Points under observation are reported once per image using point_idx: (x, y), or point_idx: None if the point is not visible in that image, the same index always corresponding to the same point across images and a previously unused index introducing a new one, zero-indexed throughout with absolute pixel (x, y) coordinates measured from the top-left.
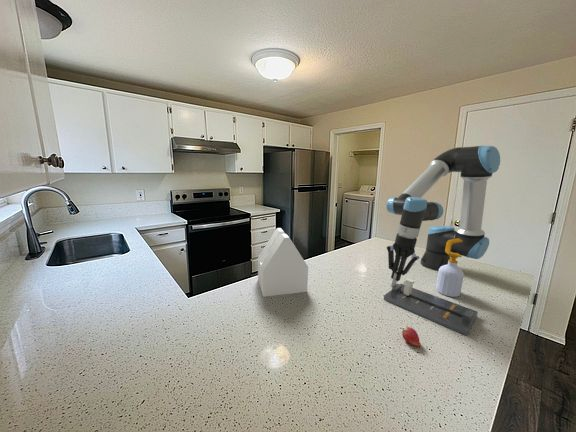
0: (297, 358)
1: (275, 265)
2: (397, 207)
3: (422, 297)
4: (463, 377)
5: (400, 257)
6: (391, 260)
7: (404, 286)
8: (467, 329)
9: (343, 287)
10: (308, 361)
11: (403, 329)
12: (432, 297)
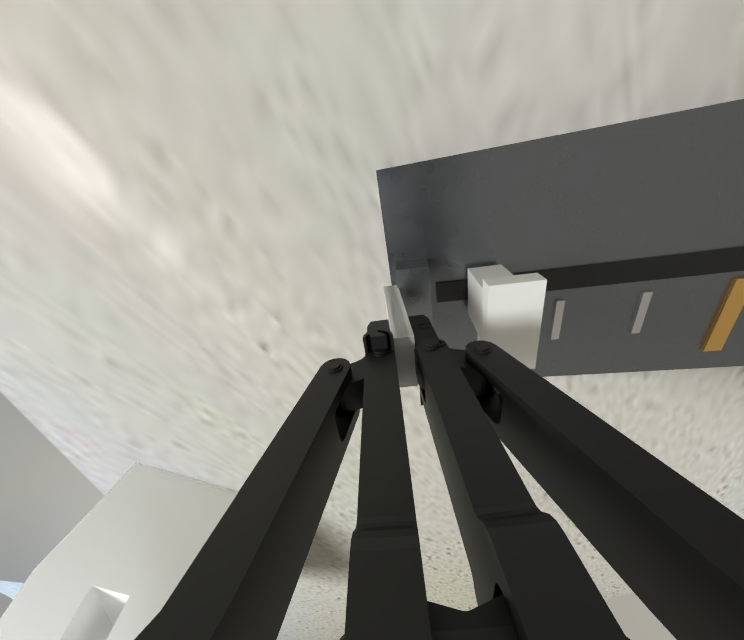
0: (429, 595)
1: None
2: None
3: (568, 237)
4: (725, 503)
5: (416, 523)
6: (328, 487)
7: (480, 337)
8: None
9: (256, 411)
10: (444, 592)
11: (573, 525)
12: (634, 167)
